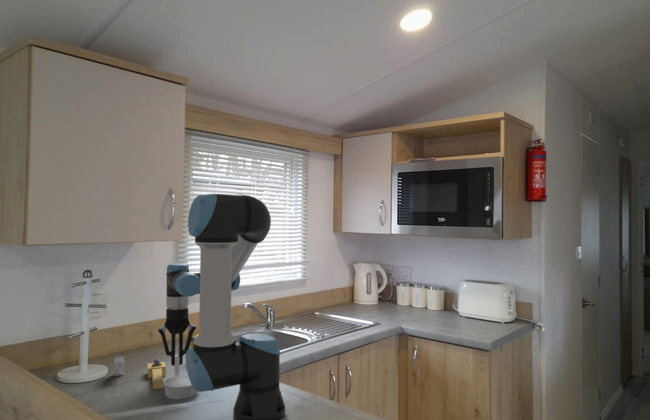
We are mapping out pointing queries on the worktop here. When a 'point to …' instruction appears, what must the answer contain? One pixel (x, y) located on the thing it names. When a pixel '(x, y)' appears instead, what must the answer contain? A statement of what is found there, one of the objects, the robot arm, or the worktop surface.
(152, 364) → the link
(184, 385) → the ramekin
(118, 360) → the keeper
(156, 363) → the pintle post
